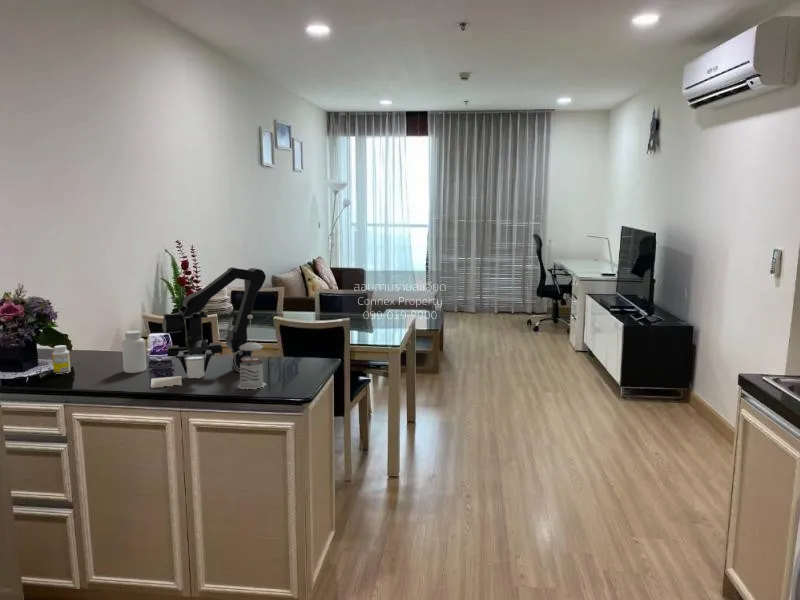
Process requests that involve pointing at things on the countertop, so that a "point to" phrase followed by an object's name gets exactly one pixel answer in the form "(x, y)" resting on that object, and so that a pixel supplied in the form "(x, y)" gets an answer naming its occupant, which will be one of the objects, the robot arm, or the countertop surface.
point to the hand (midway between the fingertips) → (195, 372)
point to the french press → (247, 380)
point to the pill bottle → (133, 352)
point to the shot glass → (195, 366)
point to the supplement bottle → (61, 359)
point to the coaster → (166, 381)
